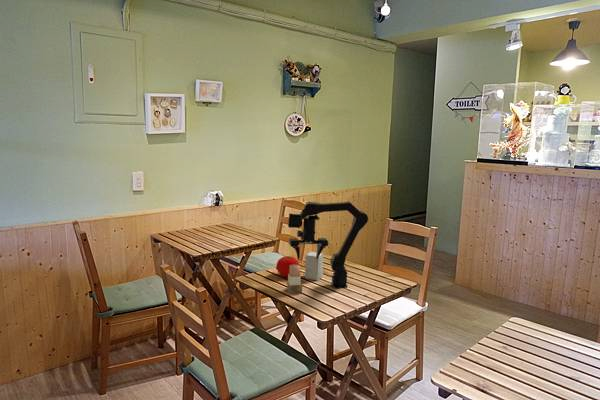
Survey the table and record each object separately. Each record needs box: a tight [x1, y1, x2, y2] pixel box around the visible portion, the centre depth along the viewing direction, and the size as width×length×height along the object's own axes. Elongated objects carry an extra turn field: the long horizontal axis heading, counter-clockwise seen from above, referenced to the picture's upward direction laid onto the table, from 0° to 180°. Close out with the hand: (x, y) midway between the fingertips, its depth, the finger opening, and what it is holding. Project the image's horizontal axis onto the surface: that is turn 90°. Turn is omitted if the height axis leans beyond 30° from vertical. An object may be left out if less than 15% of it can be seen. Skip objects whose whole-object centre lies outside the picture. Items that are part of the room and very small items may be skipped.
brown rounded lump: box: [289, 264, 301, 277], centre depth 196 cm, size 5×5×4 cm
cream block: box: [287, 274, 302, 285], centre depth 197 cm, size 5×5×4 cm
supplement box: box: [304, 251, 324, 281], centre depth 217 cm, size 7×7×13 cm
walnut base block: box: [286, 281, 303, 295], centre depth 197 cm, size 6×6×4 cm
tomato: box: [275, 255, 300, 278], centre depth 218 cm, size 11×12×10 cm
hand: (307, 259), depth 205 cm, fingers open, 9 cm apart
